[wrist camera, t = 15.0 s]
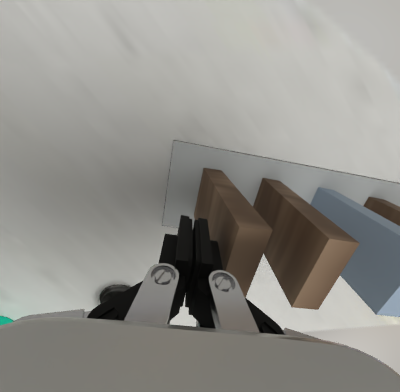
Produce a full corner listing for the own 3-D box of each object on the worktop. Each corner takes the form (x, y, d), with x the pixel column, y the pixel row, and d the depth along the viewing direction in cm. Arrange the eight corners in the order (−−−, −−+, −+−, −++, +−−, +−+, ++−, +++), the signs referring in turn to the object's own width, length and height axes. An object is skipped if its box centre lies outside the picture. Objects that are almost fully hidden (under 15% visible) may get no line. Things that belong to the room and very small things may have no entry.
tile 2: (247, 222, 21) (291, 307, 12) (262, 177, 19) (329, 238, 10) (263, 224, 21) (317, 309, 12) (279, 180, 19) (360, 243, 10)
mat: (162, 223, 21) (161, 225, 21) (174, 140, 18) (173, 140, 17) (410, 257, 25) (414, 260, 25) (460, 195, 22) (465, 196, 21)
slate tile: (298, 229, 22) (376, 314, 13) (318, 187, 20) (427, 252, 11) (312, 231, 22) (399, 316, 13) (333, 190, 20) (454, 256, 11)
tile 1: (193, 215, 20) (215, 301, 11) (203, 167, 18) (239, 227, 9) (210, 216, 21) (243, 301, 12) (221, 170, 19) (272, 229, 10)
